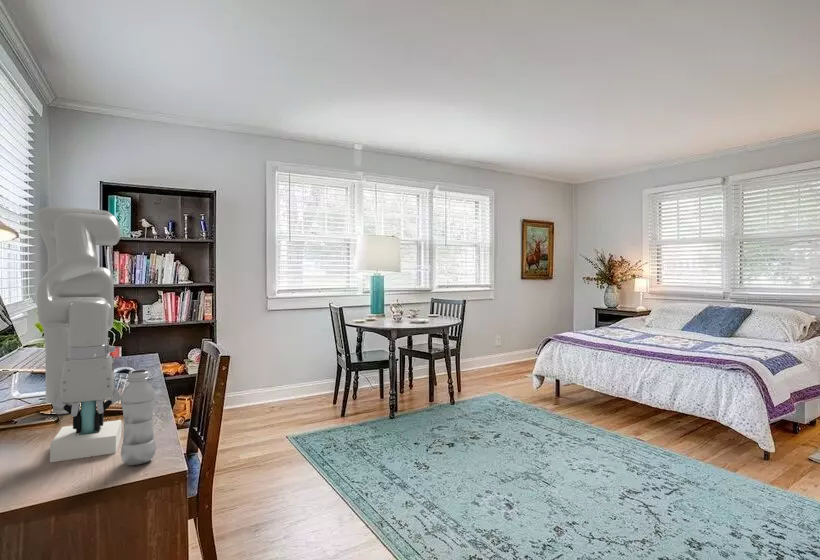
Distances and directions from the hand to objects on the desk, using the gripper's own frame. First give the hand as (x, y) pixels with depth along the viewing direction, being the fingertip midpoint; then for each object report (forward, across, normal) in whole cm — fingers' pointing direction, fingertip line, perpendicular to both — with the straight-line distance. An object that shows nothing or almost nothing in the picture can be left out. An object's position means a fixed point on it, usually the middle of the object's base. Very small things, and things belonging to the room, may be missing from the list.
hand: (88, 429), depth 106 cm
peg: (+2, 0, 0) cm, 2 cm away
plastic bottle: (+4, -11, +14) cm, 18 cm away
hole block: (+4, 0, 0) cm, 4 cm away
